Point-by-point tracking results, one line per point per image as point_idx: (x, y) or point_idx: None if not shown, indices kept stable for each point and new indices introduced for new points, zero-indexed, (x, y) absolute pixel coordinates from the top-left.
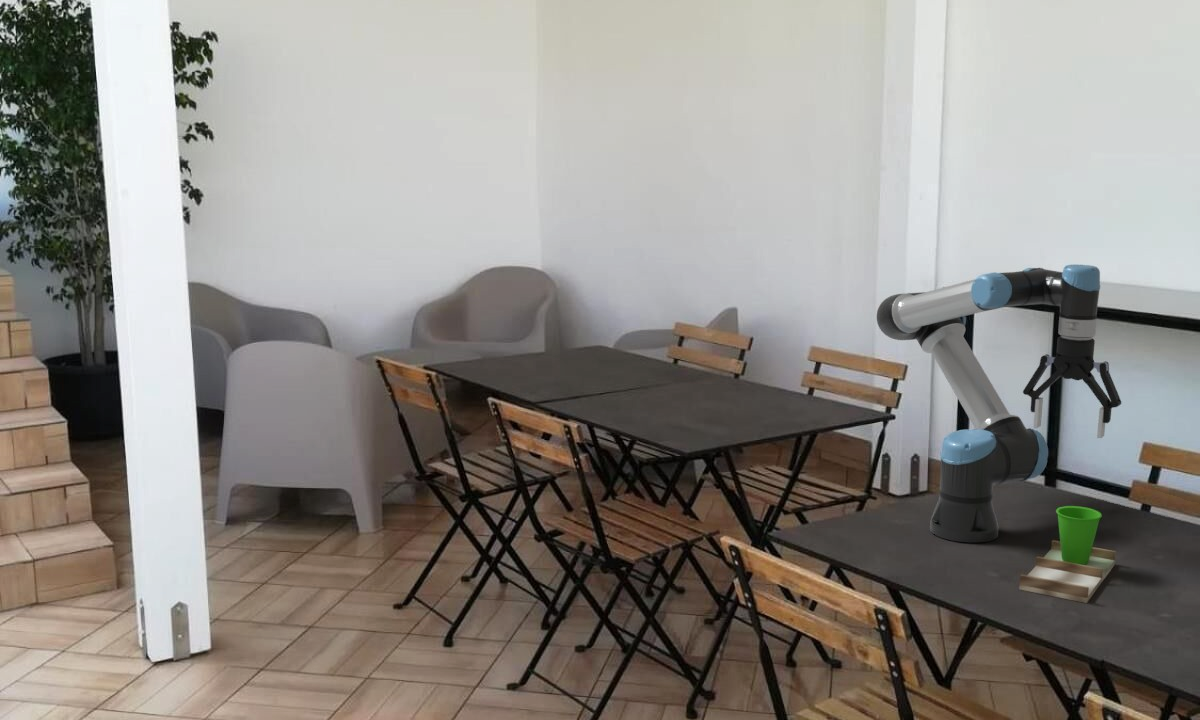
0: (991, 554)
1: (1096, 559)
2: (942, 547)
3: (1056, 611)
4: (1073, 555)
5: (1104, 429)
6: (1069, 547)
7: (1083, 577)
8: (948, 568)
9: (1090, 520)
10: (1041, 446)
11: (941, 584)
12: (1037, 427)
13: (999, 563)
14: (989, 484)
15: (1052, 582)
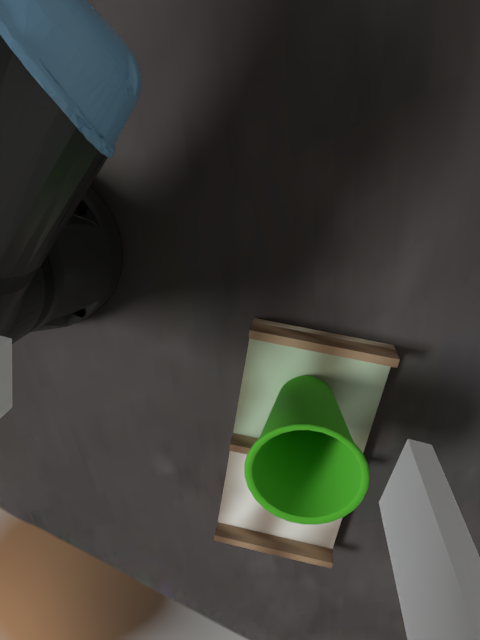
0: (138, 368)
1: (352, 366)
2: (43, 360)
3: (284, 581)
4: (301, 438)
5: (443, 483)
6: (291, 448)
7: None
8: (90, 462)
9: (337, 512)
10: (73, 94)
11: (103, 527)
12: (10, 401)
13: (163, 412)
14: (20, 318)
15: (270, 552)
